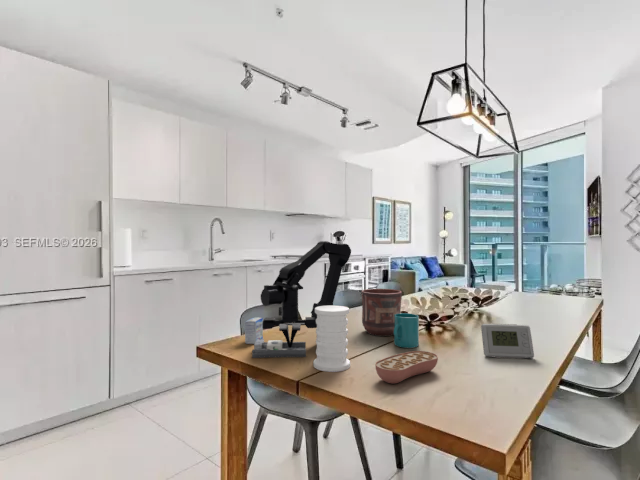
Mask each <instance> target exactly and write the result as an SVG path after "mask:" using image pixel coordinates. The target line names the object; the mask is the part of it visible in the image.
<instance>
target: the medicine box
mask: <svg viewBox="0 0 640 480" xmlns="http://www.w3.org/2000/svg"><path fill="white" fill-rule="evenodd" d="M263 320H264V318H263V317H258V316H257V317H255V316H254V317H252V318H249V319H248V320H246V321H244V340H245V341H244V342H245V343H244V344H247V345H254V344H255V342H256V340H257V339H264V336H263V335H264V333H263V331H264V329H263V328H262V324H263Z"/></svg>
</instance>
